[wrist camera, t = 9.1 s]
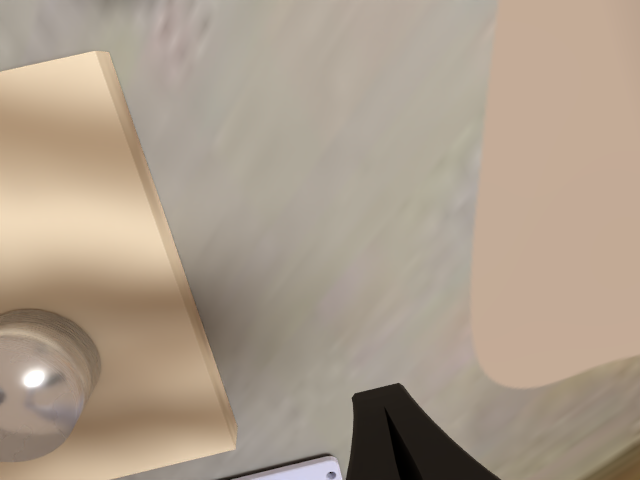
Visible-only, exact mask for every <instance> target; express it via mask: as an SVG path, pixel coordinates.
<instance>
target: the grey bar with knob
mask: <svg viewBox="0 0 640 480" xmlns="http://www.w3.org/2000/svg"><path fill="white" fill-rule="evenodd" d="M100 373H101V361H100V356H99V353H98V350H97V348H96V346H95V344H94V343H93V341H92V340H91V338H90V337H89V336H88V335H87V333H86V332H85V331H83V330H82V329H81V328H80V327H79V326H77V325H76V324H75V323H73V322H72V321H70V320H68V319H66V318H64V317H62V316H59V315H57V314H54V313H51V312H46V311H41V310H17V311H12V312H8V313H5V314H2V315H0V462H22V461H29V460H33V459H37V458H40V457H42V456H45V455H47V454H49V453H51V452H53V451H54V450H55V449H57V448H58V447H59V446H61V445H62V444H63V443H64V442H65V440H66V439H67V438H68V437H69V435H70V433H71V432H72V430H73V428H74V426H75V424H76V422H77V420H78V419H79V417H80V415H81V413H82V411H83V409H84V407H85V406H86V404H87V402H88V400H89V398H90V396H91V394H92V393H93V391H94V389H95V387H96V385H97V383H98V380H99V378H100Z"/></svg>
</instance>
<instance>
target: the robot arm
mask: <svg viewBox="0 0 640 480" xmlns="http://www.w3.org/2000/svg"><path fill="white" fill-rule="evenodd" d="M352 402H353V412H354V421H353V436H352V445H351V454H350V461H349V466H348V471H347V477H346V480H501V479H499V478H498V477H497V476H495V475H494V474H493V473H491V472H490V471H489V470H487V469H486V468H485V467H484V466H482V465H481V464H480V463H479V462H477V461H476V460H475V459H474V458H473V457H471V456H470V455H469V454H468V453H467V452H466V451H464V450H463V449H462V448H461V447H460V446H459V445H458V444H456V443H455V442H454V441H453V440H452V439H451V438H450V437H449V436H448V435H447V434H446V433H445V432H444V431H443V430H442V429H441V428H440V427H439V426H438V425H437V424H436V423H435V422H434V421H433V420H432V419H431V418H430V417H429V416H428V415H427V414H426V413H425V412H424V411H423V410H422V408H421V407H420V406H419V405H418V404H417V403H416V402H415V400H414V399H413V398H412V397H411V396H410V394H409V393H408V392H407V390H406V389H405V388H404V386H403V385H401V384H400V383H397V384H392V385H388V386H384V387H380V388H376V389H372V390H367V391H363V392H359V393H355V394H354V396H353V397H352ZM329 472H333V473H329ZM232 480H342V476H341V472H340V468H339V464H338V461H337V459H336V458H335V457H333V456H326V457H322V458H318V459H314V460H310V461H305V462H301V463H297V464H293V465H289V466H285V467H281V468H277V469H273V470H269V471H264V472H260V473H256V474H252V475H248V476H244V477H240V478H236V479H232Z"/></svg>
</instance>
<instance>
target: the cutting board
mask: <svg viewBox="0 0 640 480" xmlns="http://www.w3.org/2000/svg"><path fill="white" fill-rule="evenodd" d="M17 310H41V311H46V312H51V313H54V314H57V315H59V316H62V317H64V318H66V319H68V320H70V321H72V322H73V323H75V324H76V325H77V326H79V327H80V328H81V329H82V330H83V331H85V332H86V333H87V335H88V336H89V337H90V338H91V340H92V341H93V343H94V344H95V346H96V348H97V350H98V353H99V356H100V361H101V373H100V378H99V380H98V383H97V385H96V387H95V389H94V391H93V393H92V394H91V396H90V398H89V400H88V402H87V404H86V406H85V407H84V409H83V411H82V413H81V415H80V417H79V419H78V420H77V422H76V424H75V426H74V428H73V430H72V432H71V433H70V435H69V437H68V438H67V439H66V440H65V442H64V443H63V444H62V445H61V446H59V447H58V448H57V449H55V450H54V451H53V452H51V453H49V454H47V455H45V456H42V457H40V458H37V459H33V460H29V461H22V462H0V480H111V479H115V478H119V477H123V476H127V475H131V474H135V473H139V472H144V471H148V470H152V469H156V468H160V467H164V466H168V465H172V464H177V463H181V462H185V461H189V460H193V459H197V458H201V457H205V456H210V455H214V454H218V453H222V452H226V451H230V450H234V449H236V439H237V424H236V421H235V418H234V415H233V412H232V409H231V406H230V404H229V401H228V398H227V395H226V392H225V389H224V386H223V383H222V380H221V377H220V374H219V371H218V369H217V366H216V363H215V360H214V357H213V354H212V351H211V348H210V345H209V342H208V339H207V337H206V334H205V331H204V328H203V325H202V322H201V319H200V316H199V313H198V310H197V307H196V304H195V302H194V299H193V296H192V293H191V290H190V287H189V284H188V281H187V278H186V275H185V272H184V270H183V267H182V264H181V261H180V258H179V255H178V252H177V249H176V246H175V243H174V240H173V237H172V235H171V232H170V229H169V226H168V223H167V220H166V217H165V214H164V211H163V208H162V205H161V203H160V200H159V197H158V194H157V191H156V188H155V185H154V182H153V179H152V176H151V173H150V170H149V168H148V165H147V162H146V159H145V156H144V153H143V150H142V147H141V144H140V141H139V138H138V136H137V133H136V130H135V127H134V124H133V121H132V118H131V115H130V112H129V109H128V106H127V103H126V101H125V98H124V95H123V92H122V89H121V86H120V83H119V80H118V77H117V74H116V71H115V69H114V66H113V63H112V60H111V57H110V54H109V52H102V51H92V52H88V53H83V54H79V55H74V56H70V57H65V58H60V59H56V60H51V61H47V62H42V63H38V64H33V65H29V66H24V67H19V68H15V69H10V70H6V71H1V72H0V315H2V314H5V313H8V312H12V311H17Z"/></svg>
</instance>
